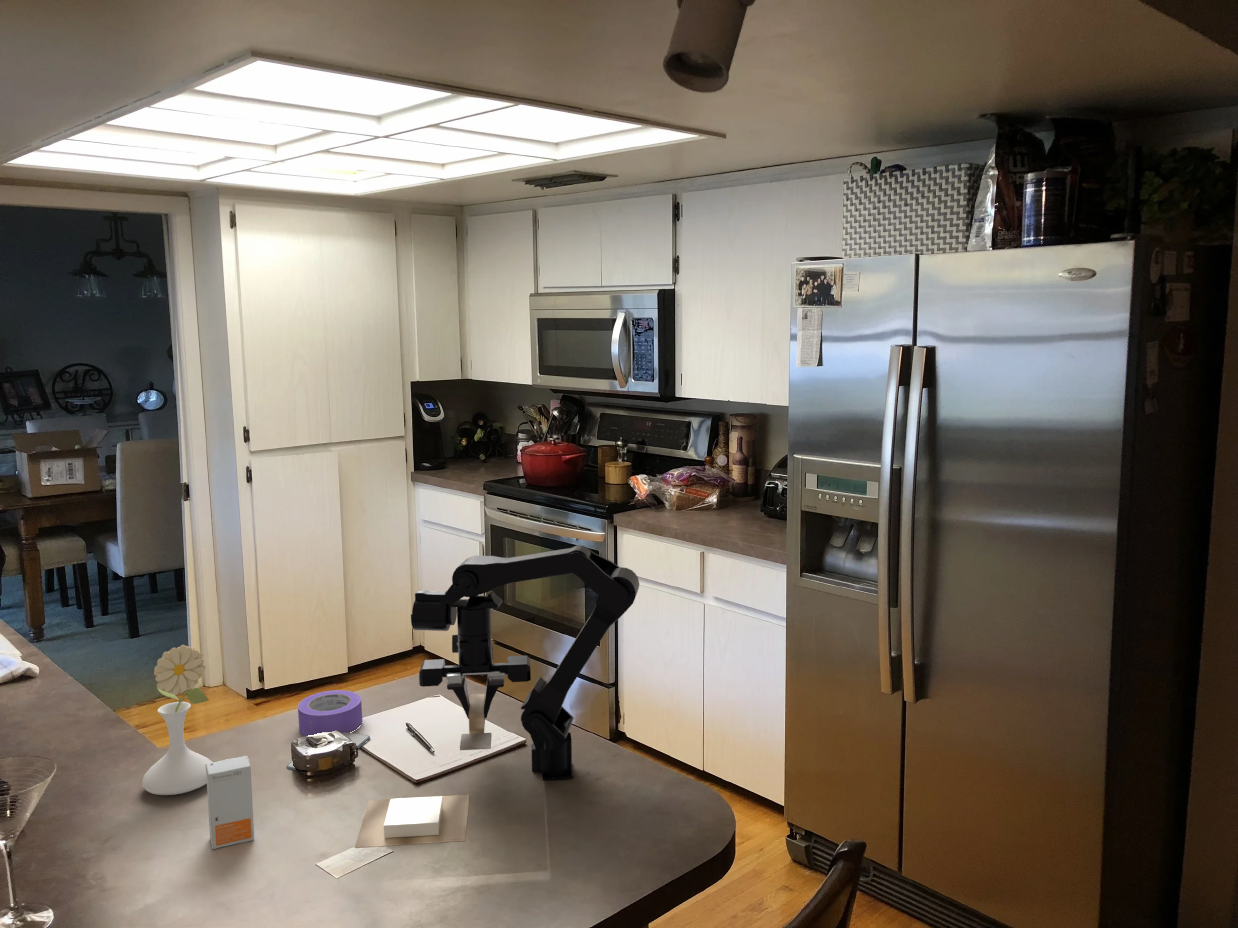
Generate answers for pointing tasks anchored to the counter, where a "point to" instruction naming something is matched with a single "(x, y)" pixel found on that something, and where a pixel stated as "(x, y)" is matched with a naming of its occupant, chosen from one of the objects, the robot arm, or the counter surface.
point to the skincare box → (230, 801)
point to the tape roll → (330, 712)
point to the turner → (476, 726)
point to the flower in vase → (178, 724)
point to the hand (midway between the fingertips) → (477, 717)
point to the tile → (413, 817)
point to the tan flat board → (449, 832)
